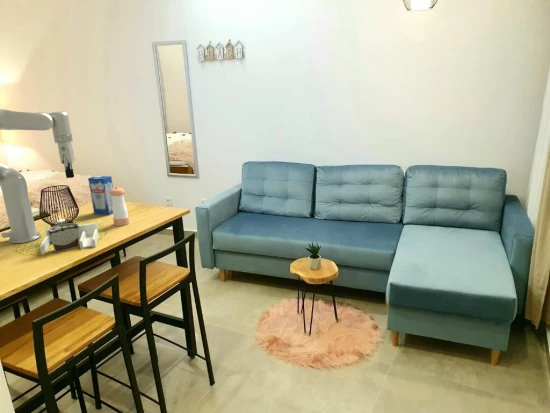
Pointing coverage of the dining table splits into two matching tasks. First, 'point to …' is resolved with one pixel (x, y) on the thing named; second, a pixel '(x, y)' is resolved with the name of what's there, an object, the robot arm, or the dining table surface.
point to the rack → (86, 235)
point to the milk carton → (101, 194)
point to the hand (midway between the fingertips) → (70, 177)
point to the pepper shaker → (119, 207)
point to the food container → (64, 236)
